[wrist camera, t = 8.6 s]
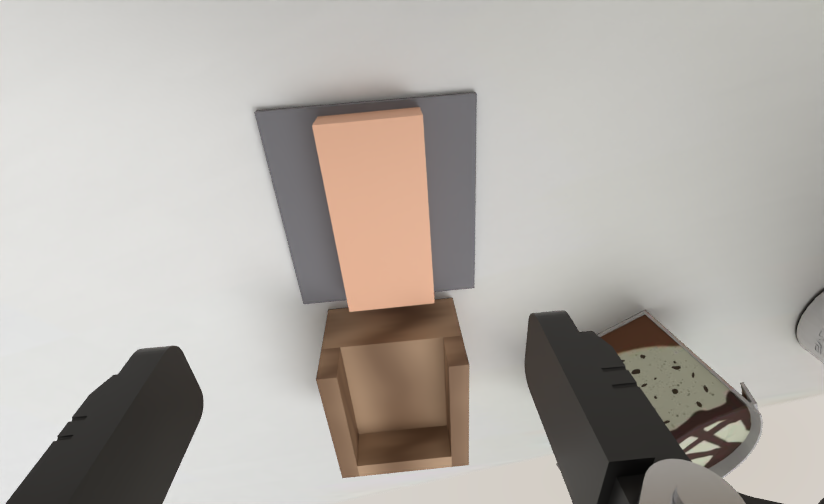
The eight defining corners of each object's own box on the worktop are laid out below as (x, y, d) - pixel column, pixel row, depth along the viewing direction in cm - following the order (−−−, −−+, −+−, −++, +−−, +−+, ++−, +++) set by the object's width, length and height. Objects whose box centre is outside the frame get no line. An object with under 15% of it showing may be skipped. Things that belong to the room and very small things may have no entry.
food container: (552, 410, 37) (603, 532, 28) (521, 373, 34) (568, 494, 26) (686, 347, 34) (789, 461, 25) (663, 300, 31) (771, 410, 23)
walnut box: (452, 297, 30) (469, 364, 24) (454, 391, 35) (468, 465, 29) (328, 309, 30) (316, 379, 24) (348, 402, 35) (342, 477, 29)
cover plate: (419, 106, 22) (422, 114, 21) (431, 285, 29) (434, 303, 27) (317, 116, 22) (312, 125, 21) (351, 293, 28) (349, 312, 27)
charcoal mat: (475, 92, 23) (476, 93, 22) (473, 284, 29) (474, 288, 29) (256, 110, 22) (254, 112, 22) (304, 300, 29) (303, 304, 29)
